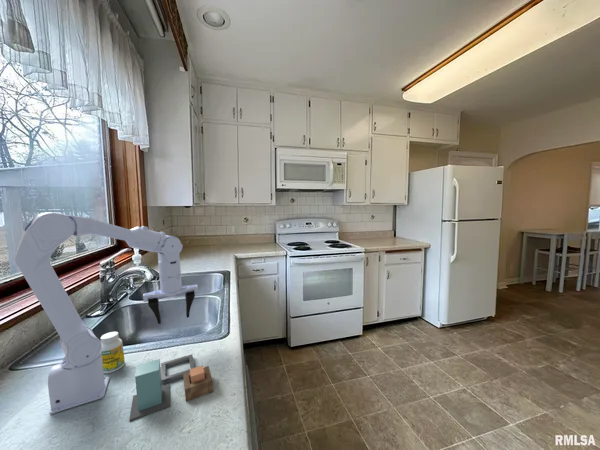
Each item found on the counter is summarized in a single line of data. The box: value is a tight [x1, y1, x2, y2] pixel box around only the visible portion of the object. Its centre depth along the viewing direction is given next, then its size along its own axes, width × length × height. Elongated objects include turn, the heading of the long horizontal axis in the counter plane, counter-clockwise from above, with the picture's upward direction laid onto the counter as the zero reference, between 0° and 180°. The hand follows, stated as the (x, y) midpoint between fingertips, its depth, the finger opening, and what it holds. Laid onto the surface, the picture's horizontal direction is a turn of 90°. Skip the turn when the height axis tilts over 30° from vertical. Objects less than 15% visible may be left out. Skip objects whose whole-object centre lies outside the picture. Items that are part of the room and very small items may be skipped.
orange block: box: [190, 365, 205, 384], centre depth 62 cm, size 3×3×4 cm
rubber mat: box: [128, 383, 171, 422], centre depth 58 cm, size 8×8×1 cm
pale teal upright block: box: [134, 358, 163, 411], centre depth 58 cm, size 4×4×8 cm
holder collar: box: [160, 353, 196, 386], centre depth 69 cm, size 8×8×1 cm
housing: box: [182, 365, 214, 402], centre depth 62 cm, size 6×6×3 cm
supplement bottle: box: [99, 331, 126, 374], centre depth 71 cm, size 5×5×10 cm
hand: (173, 319), depth 77 cm, fingers open, 7 cm apart
